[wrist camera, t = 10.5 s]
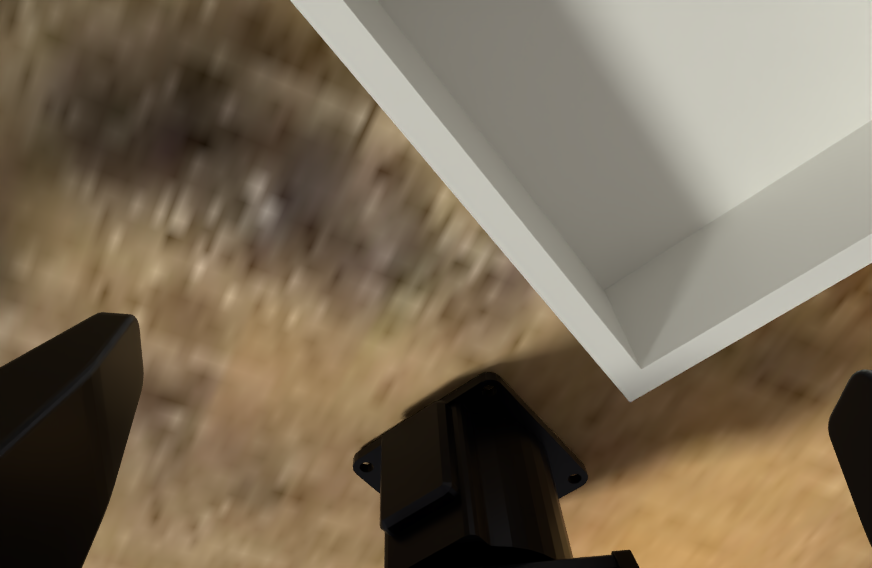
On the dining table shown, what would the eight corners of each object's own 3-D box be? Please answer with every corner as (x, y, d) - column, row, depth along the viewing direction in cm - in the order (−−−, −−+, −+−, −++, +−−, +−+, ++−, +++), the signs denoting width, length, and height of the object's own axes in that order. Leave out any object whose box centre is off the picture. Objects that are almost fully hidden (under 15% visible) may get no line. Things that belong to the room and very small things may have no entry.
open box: (1005, 38, 21) (1165, 92, 16) (588, 303, 24) (630, 402, 20) (812, -516, 15) (984, -660, 10) (303, -51, 18) (276, -17, 14)
